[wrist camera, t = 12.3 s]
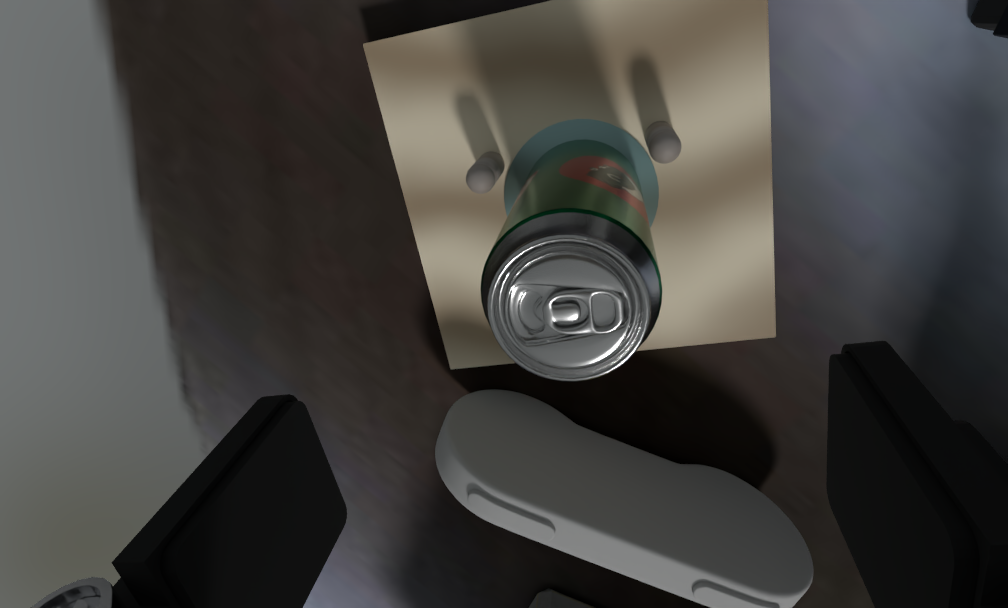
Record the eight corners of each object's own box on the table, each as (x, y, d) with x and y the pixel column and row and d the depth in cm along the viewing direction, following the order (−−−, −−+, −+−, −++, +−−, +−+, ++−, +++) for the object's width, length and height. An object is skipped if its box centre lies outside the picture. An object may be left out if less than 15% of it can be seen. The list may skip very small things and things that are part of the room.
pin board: (374, 42, 27) (331, 46, 23) (757, -46, 23) (790, -61, 19) (457, 355, 33) (435, 404, 29) (768, 322, 29) (795, 372, 25)
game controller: (452, 400, 34) (410, 504, 27) (464, 369, 33) (424, 468, 26) (768, 521, 35) (812, 657, 27) (789, 494, 34) (842, 628, 26)
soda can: (518, 144, 26) (458, 229, 15) (637, 129, 25) (663, 211, 14) (532, 253, 28) (487, 397, 17) (643, 244, 27) (669, 391, 16)
